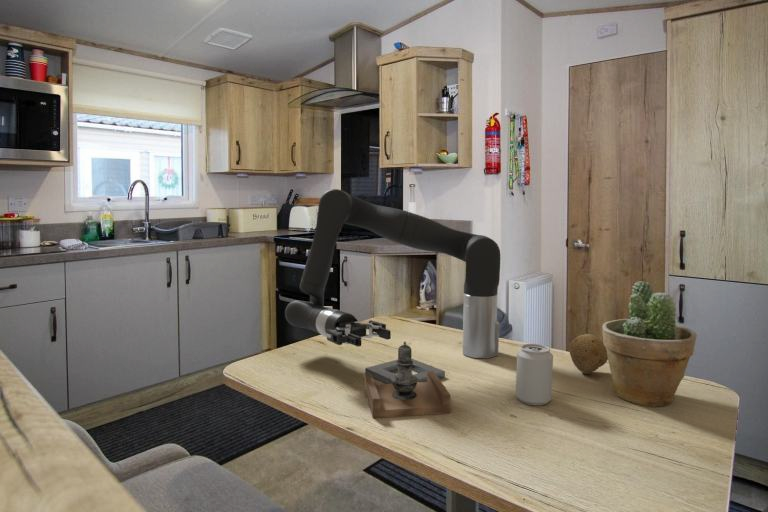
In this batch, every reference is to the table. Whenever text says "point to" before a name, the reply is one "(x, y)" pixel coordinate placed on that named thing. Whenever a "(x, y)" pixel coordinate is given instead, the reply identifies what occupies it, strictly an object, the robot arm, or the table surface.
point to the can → (534, 374)
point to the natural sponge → (588, 353)
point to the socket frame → (385, 369)
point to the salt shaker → (404, 375)
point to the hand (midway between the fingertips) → (375, 338)
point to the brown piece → (426, 402)
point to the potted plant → (648, 349)
